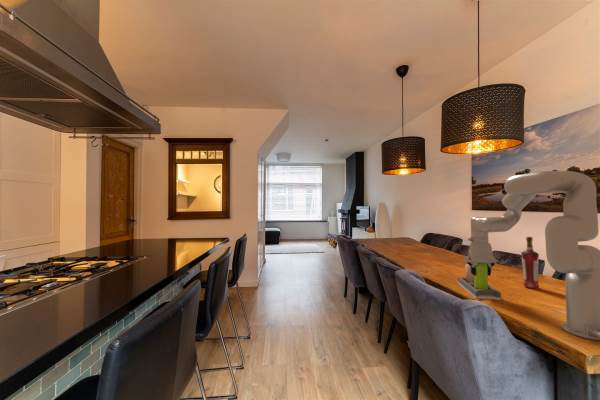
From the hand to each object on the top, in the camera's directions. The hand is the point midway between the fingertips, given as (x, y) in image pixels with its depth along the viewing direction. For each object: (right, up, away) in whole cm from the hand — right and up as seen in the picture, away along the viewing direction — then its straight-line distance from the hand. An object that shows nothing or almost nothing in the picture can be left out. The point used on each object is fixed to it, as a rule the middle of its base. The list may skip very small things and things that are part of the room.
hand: (480, 274), depth 138 cm
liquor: (+34, -10, +8) cm, 36 cm away
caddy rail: (+1, -10, +5) cm, 11 cm away
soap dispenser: (0, -8, 0) cm, 8 cm away
